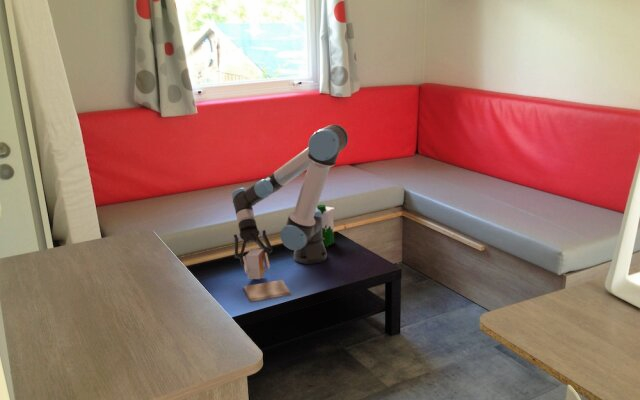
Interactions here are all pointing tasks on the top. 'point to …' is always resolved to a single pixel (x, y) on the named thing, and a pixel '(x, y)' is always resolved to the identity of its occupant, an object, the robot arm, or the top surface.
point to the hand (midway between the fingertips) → (257, 269)
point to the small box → (255, 263)
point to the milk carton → (327, 224)
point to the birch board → (266, 290)
